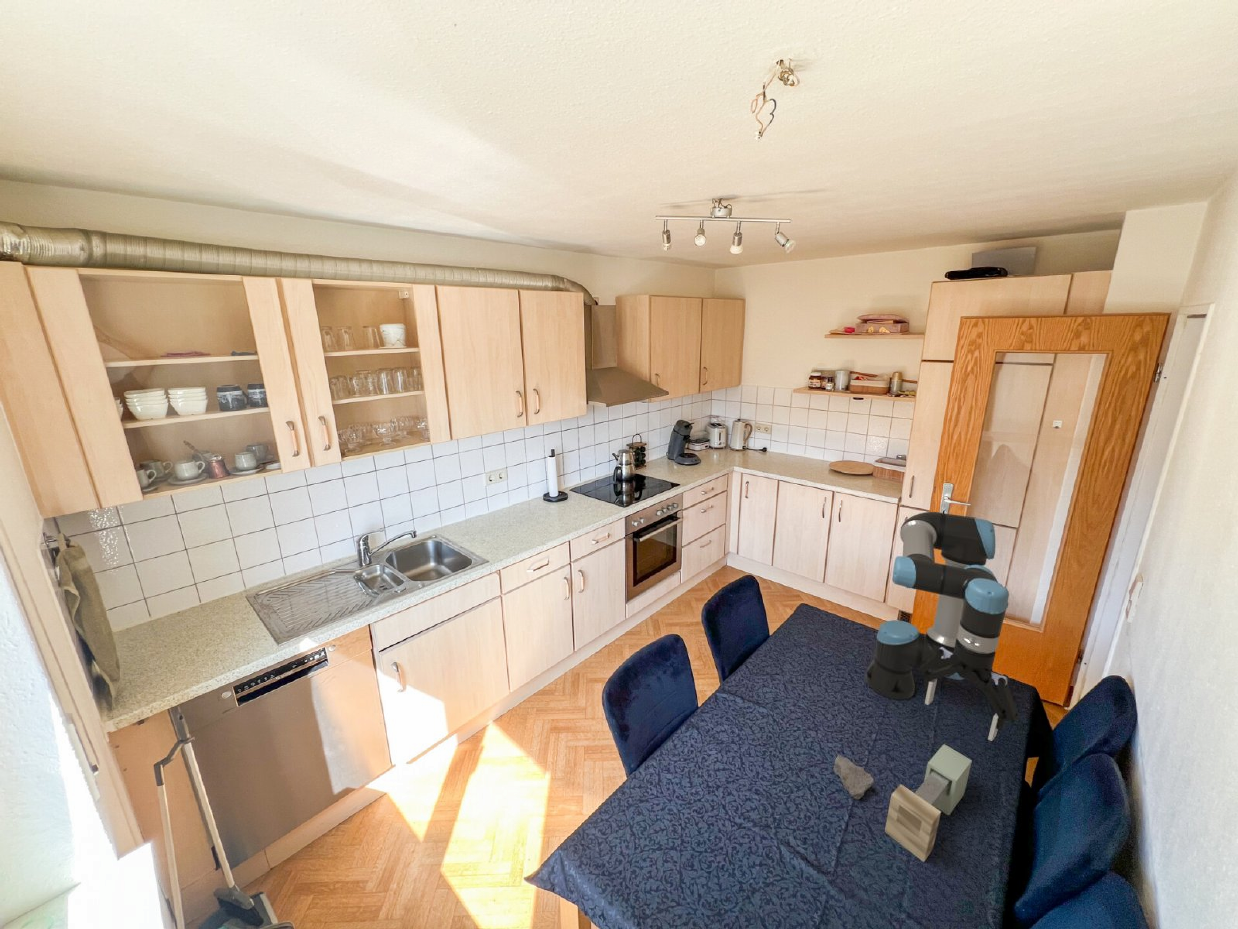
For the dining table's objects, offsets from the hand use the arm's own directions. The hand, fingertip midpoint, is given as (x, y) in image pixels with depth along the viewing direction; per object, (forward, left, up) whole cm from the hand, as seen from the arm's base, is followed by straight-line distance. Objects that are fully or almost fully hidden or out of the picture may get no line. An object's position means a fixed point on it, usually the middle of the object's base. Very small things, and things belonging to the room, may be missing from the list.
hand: (958, 719), depth 118 cm
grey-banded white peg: (+6, -1, -23) cm, 24 cm away
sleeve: (-6, -1, -29) cm, 29 cm away
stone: (+11, -18, -29) cm, 36 cm away
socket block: (+14, -1, -29) cm, 32 cm away
